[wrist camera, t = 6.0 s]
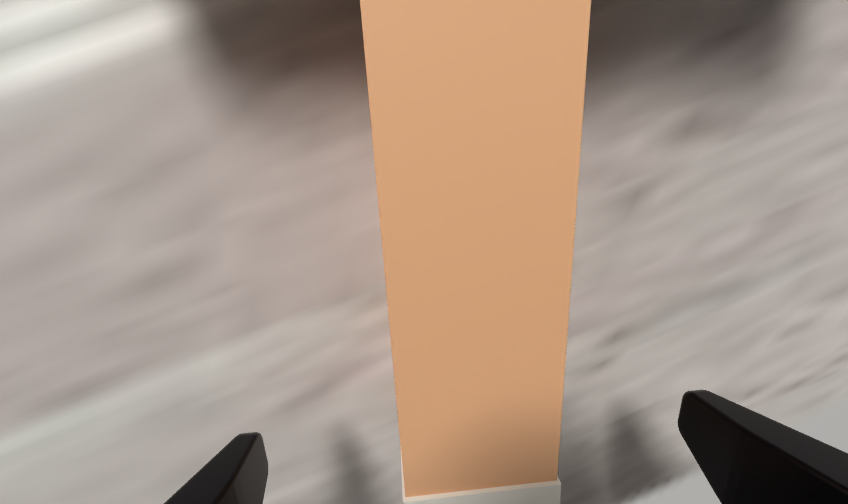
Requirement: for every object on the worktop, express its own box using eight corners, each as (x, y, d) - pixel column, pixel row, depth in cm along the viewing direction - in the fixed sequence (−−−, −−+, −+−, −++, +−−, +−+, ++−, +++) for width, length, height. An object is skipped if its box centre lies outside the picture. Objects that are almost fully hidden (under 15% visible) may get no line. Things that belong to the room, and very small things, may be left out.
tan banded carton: (496, 394, 14) (556, 552, 9) (401, 404, 13) (409, 570, 9) (500, -151, 9) (632, -444, 4) (353, -148, 9) (313, -452, 4)
